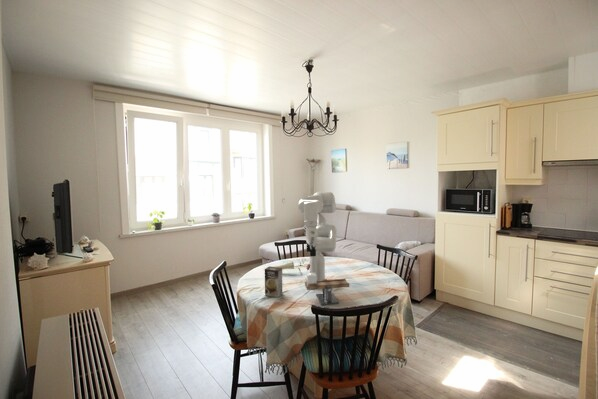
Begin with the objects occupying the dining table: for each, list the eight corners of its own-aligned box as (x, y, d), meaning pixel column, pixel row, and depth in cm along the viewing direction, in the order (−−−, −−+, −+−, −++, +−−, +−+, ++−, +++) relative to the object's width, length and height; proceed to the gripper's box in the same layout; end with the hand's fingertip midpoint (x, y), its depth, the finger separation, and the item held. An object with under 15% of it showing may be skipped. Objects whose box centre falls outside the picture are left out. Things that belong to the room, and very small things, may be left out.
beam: (307, 290, 157) (307, 286, 157) (305, 285, 165) (305, 281, 165) (349, 287, 161) (349, 283, 161) (345, 282, 168) (345, 278, 168)
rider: (307, 286, 159) (307, 275, 159) (306, 283, 163) (306, 273, 163) (316, 285, 160) (316, 275, 160) (314, 282, 164) (314, 272, 164)
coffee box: (264, 295, 170) (264, 269, 169) (269, 291, 176) (268, 265, 175) (278, 297, 167) (277, 270, 166) (282, 293, 173) (282, 267, 172)
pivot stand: (321, 305, 156) (320, 287, 156) (316, 295, 169) (315, 279, 168) (338, 303, 158) (338, 286, 157) (332, 294, 171) (332, 278, 170)
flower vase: (272, 281, 214) (317, 272, 211) (268, 282, 203) (316, 272, 199) (269, 265, 217) (314, 256, 214) (265, 265, 206) (312, 255, 202)
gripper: (320, 226, 151) (321, 257, 152) (314, 221, 168) (314, 249, 169) (307, 226, 150) (307, 258, 151) (301, 221, 167) (302, 250, 168)
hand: (311, 253), depth 160 cm, fingers open, 9 cm apart
